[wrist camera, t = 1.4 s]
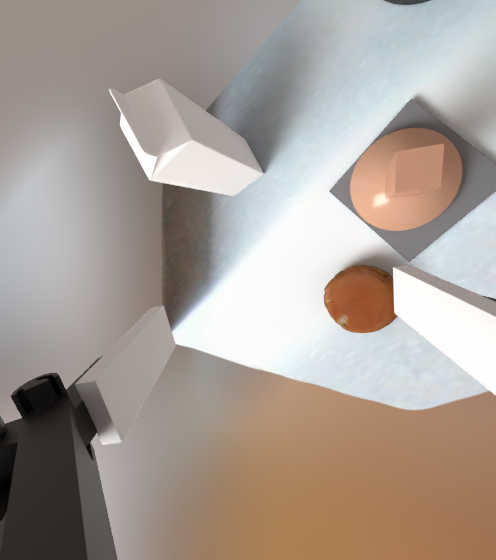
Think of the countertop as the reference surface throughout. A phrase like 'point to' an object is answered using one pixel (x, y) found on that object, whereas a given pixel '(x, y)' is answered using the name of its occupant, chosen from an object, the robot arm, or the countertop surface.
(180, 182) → the milk
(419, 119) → the mat
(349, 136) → the countertop surface
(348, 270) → the burger
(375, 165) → the lid
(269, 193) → the countertop surface
